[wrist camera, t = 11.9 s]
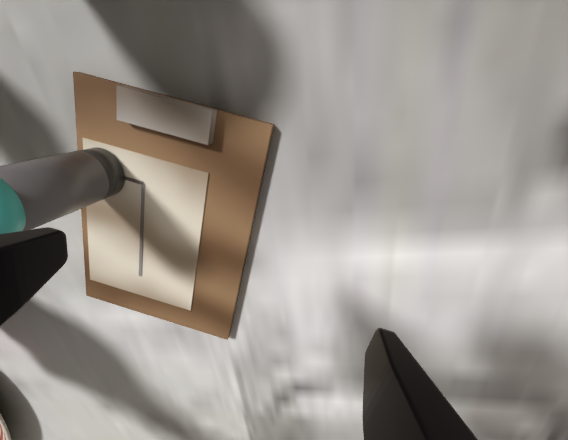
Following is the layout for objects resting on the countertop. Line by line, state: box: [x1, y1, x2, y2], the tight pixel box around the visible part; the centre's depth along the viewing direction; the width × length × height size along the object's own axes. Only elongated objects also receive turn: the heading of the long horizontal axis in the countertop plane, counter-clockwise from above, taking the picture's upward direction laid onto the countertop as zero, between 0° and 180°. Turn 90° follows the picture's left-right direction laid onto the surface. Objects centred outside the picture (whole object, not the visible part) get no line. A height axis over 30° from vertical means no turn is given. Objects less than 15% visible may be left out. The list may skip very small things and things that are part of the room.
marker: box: [0, 147, 125, 234], centre depth 17 cm, size 3×3×8 cm
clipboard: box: [73, 72, 274, 340], centre depth 22 cm, size 18×13×1 cm
